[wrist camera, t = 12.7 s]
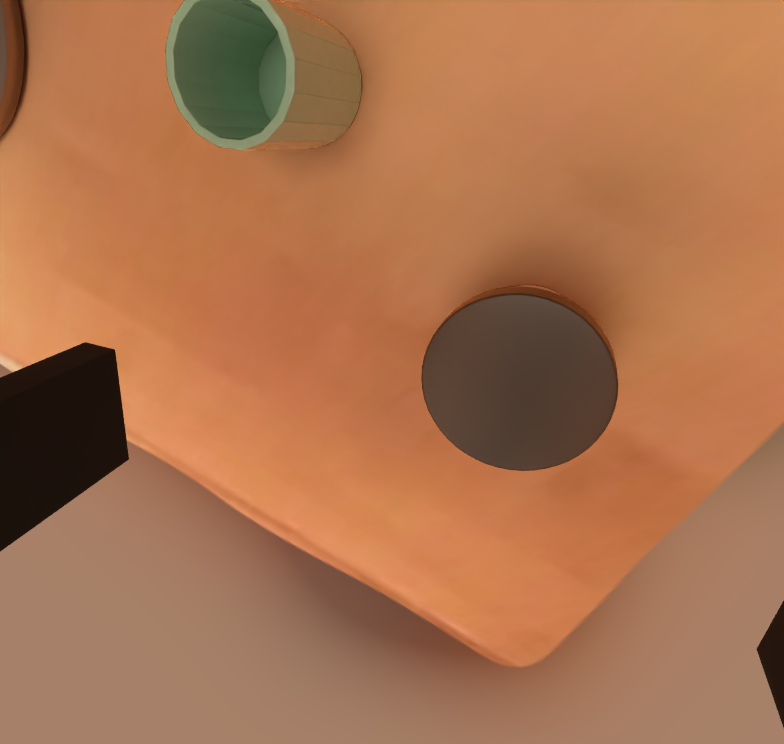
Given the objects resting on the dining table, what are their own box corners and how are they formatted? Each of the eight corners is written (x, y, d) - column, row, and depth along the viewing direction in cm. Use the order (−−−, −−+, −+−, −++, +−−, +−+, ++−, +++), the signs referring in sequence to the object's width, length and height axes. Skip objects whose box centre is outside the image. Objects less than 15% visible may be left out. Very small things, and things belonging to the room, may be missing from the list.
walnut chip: (418, 433, 25) (411, 446, 24) (440, 270, 22) (433, 277, 21) (590, 476, 23) (590, 492, 22) (640, 304, 20) (643, 314, 19)
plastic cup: (258, 141, 27) (170, 141, 21) (257, 15, 25) (159, -22, 19) (358, 153, 26) (293, 156, 20) (366, 21, 24) (296, -17, 18)
